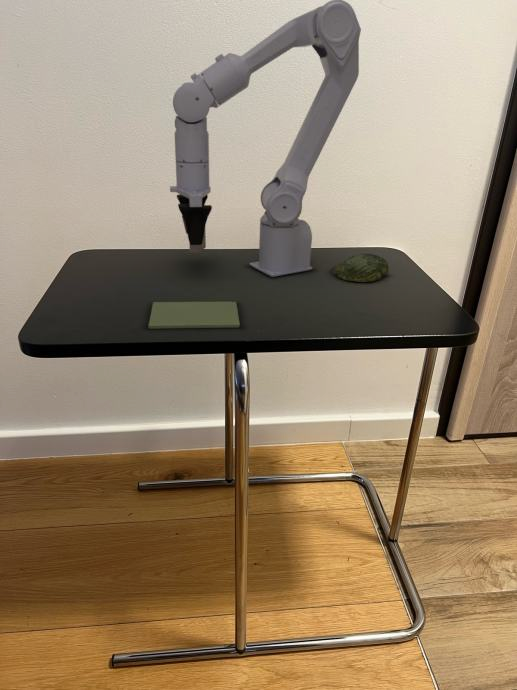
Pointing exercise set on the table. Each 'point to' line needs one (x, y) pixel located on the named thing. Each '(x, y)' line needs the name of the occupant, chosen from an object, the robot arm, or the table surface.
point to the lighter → (196, 247)
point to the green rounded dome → (362, 268)
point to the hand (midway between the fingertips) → (194, 238)
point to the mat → (194, 315)
